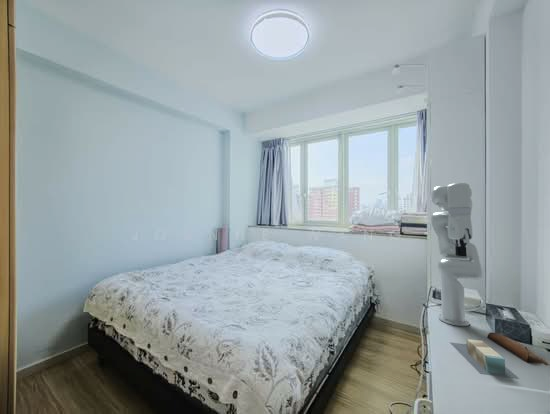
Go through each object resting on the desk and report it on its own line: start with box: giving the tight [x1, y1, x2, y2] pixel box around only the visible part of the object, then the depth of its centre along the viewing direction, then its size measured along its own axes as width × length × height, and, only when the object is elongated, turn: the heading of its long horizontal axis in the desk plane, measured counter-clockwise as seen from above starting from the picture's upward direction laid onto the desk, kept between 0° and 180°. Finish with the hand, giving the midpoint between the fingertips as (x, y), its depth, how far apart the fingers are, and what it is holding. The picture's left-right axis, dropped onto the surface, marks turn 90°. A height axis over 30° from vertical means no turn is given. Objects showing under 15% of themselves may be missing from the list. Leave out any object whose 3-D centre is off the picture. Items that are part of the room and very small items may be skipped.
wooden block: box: [466, 338, 506, 374], centre depth 83 cm, size 5×5×12 cm
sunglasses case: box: [487, 331, 550, 366], centre depth 91 cm, size 18×7×7 cm
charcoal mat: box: [449, 341, 520, 380], centre depth 86 cm, size 20×11×1 cm, turn 167°
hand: (461, 255), depth 96 cm, fingers closed
